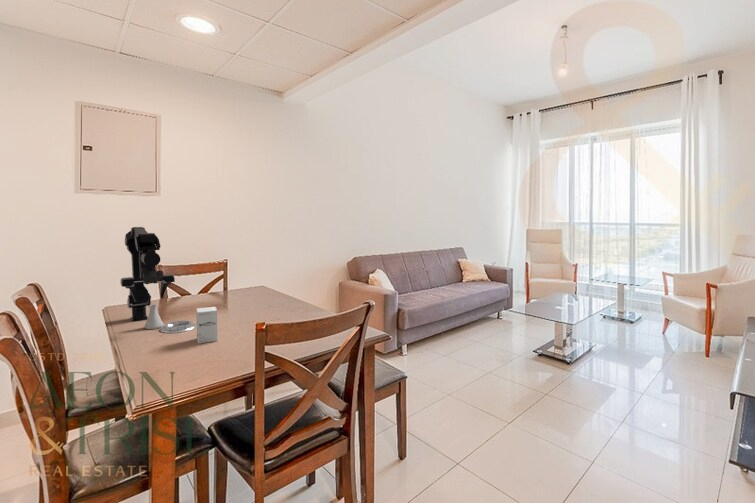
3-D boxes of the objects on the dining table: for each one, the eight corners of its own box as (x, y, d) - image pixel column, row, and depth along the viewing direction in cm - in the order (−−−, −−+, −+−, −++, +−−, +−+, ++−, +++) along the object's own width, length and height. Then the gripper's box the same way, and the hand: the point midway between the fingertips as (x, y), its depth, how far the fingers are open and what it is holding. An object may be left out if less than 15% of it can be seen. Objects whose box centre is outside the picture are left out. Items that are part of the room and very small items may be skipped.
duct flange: (157, 327, 165) (157, 323, 165) (191, 321, 174) (191, 317, 174) (163, 335, 154) (163, 330, 154) (199, 328, 163) (199, 324, 163)
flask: (154, 330, 161) (153, 307, 160) (140, 329, 162) (139, 306, 161) (167, 325, 168) (166, 303, 167) (153, 324, 169) (152, 302, 168)
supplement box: (197, 344, 144) (196, 312, 143) (196, 338, 151) (195, 307, 150) (218, 341, 148) (217, 310, 147) (216, 335, 154) (215, 306, 153)
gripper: (122, 267, 143) (124, 307, 144) (176, 264, 155) (178, 301, 156) (119, 264, 151) (121, 301, 153) (171, 261, 163) (172, 296, 165)
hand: (149, 300), depth 157 cm, fingers open, 9 cm apart
